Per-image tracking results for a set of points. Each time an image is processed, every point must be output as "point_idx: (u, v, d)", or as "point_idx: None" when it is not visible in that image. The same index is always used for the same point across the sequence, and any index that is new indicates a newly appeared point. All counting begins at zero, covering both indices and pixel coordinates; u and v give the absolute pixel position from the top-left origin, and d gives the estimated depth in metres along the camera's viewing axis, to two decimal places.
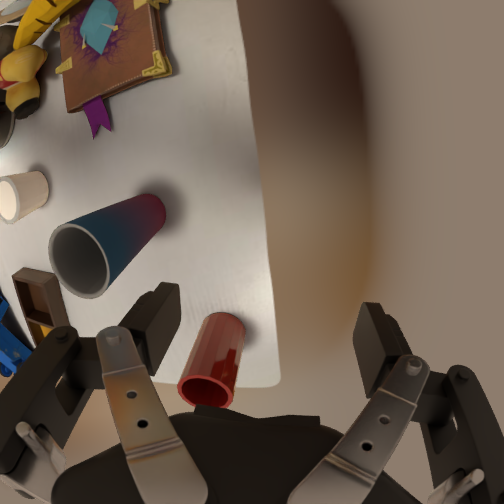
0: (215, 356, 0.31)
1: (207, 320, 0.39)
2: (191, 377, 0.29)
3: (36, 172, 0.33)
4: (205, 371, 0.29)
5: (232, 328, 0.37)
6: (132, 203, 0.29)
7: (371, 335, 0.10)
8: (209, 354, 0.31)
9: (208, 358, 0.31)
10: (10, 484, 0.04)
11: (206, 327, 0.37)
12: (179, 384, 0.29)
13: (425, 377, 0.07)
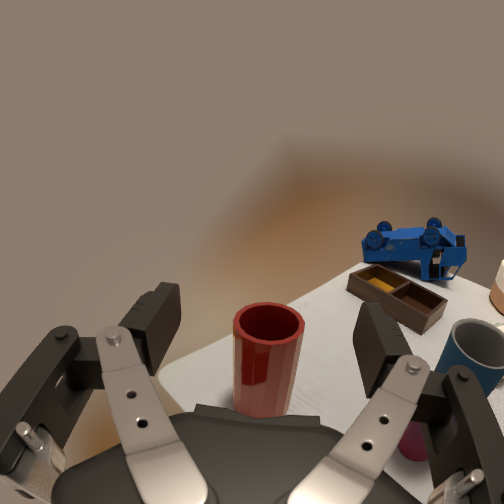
0: (280, 370, 0.24)
1: None
2: (299, 331, 0.24)
3: (502, 378, 0.28)
4: (289, 347, 0.23)
5: (264, 411, 0.26)
6: None
7: (371, 335, 0.10)
8: (287, 369, 0.25)
9: (288, 363, 0.24)
10: (10, 484, 0.04)
11: (290, 395, 0.28)
12: (300, 317, 0.26)
13: (425, 377, 0.07)
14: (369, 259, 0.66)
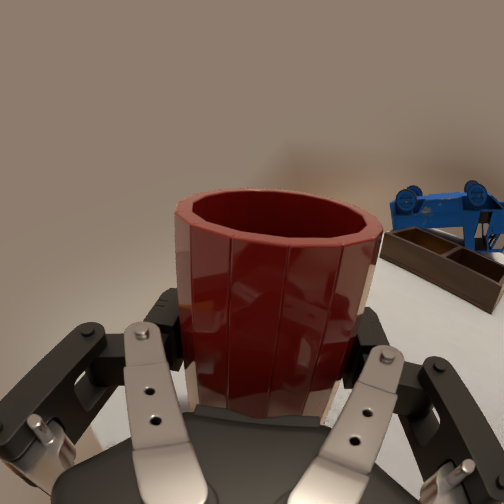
0: (316, 356, 0.08)
1: None
2: (371, 227, 0.08)
3: None
4: (352, 268, 0.07)
5: None
6: None
7: None
8: (334, 353, 0.08)
9: (339, 335, 0.08)
10: (15, 471, 0.04)
11: None
12: (360, 209, 0.10)
13: (400, 366, 0.08)
14: (400, 228, 0.49)
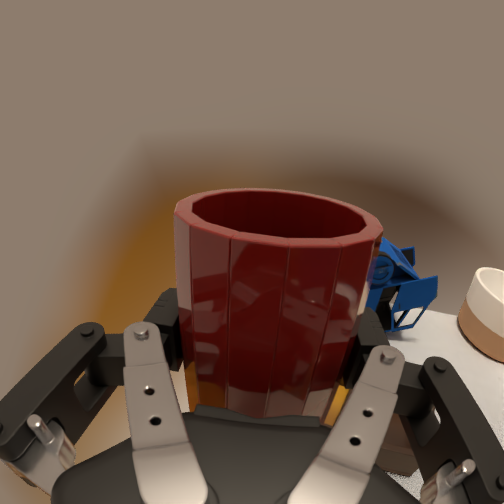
0: (316, 357, 0.08)
1: None
2: (371, 228, 0.08)
3: None
4: (352, 269, 0.07)
5: None
6: None
7: None
8: (334, 354, 0.08)
9: (338, 336, 0.08)
10: (15, 471, 0.04)
11: (323, 422, 0.11)
12: (359, 209, 0.10)
13: (401, 366, 0.08)
14: None
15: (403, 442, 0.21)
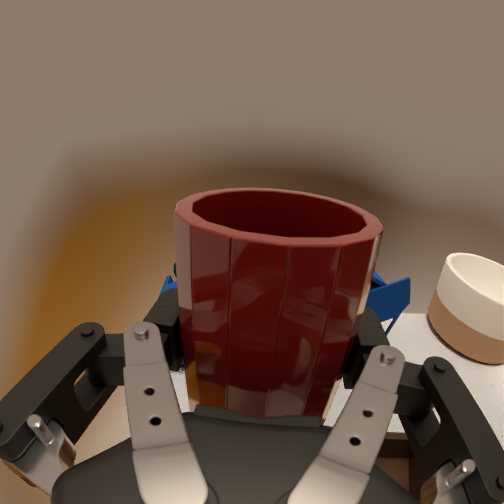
0: (315, 356, 0.08)
1: None
2: (371, 227, 0.08)
3: None
4: (352, 268, 0.07)
5: None
6: None
7: None
8: (334, 353, 0.08)
9: (339, 335, 0.08)
10: (15, 471, 0.04)
11: (323, 422, 0.11)
12: (360, 209, 0.10)
13: (401, 366, 0.08)
14: None
15: None
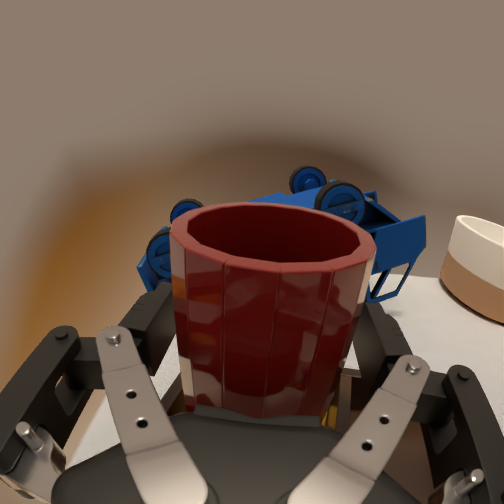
0: (308, 373, 0.08)
1: None
2: (364, 247, 0.08)
3: None
4: (344, 291, 0.07)
5: None
6: None
7: (371, 335, 0.10)
8: (326, 369, 0.08)
9: (330, 353, 0.08)
10: (10, 484, 0.04)
11: None
12: (354, 225, 0.10)
13: (425, 377, 0.07)
14: None
15: None
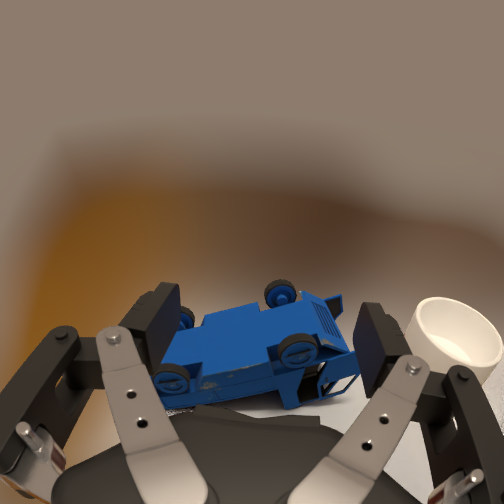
0: None
1: None
2: None
3: None
4: None
5: None
6: None
7: (372, 335, 0.10)
8: None
9: None
10: (10, 484, 0.04)
11: None
12: None
13: (425, 377, 0.07)
14: (174, 406, 0.31)
15: None
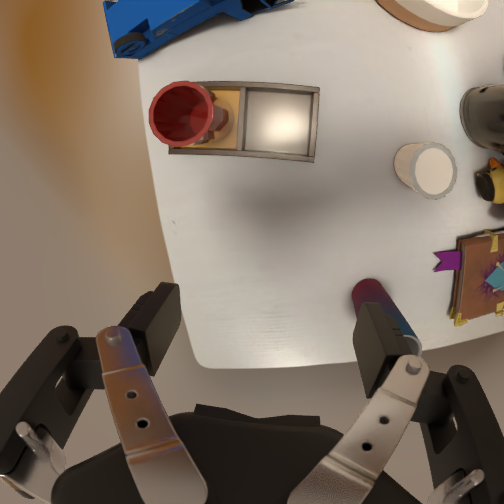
0: (206, 139, 0.28)
1: (232, 120, 0.34)
2: (208, 120, 0.24)
3: None
4: (204, 136, 0.25)
5: (211, 142, 0.34)
6: None
7: (371, 335, 0.10)
8: (212, 134, 0.28)
9: (210, 135, 0.27)
10: (10, 484, 0.04)
11: (230, 121, 0.32)
12: (207, 97, 0.23)
13: (425, 377, 0.07)
14: (145, 53, 0.32)
15: (300, 132, 0.35)
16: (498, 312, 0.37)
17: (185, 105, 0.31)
